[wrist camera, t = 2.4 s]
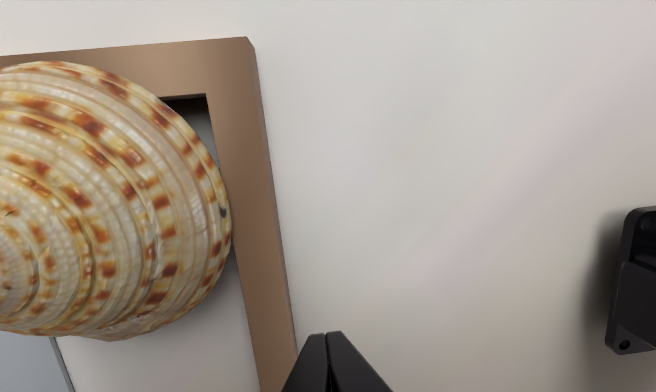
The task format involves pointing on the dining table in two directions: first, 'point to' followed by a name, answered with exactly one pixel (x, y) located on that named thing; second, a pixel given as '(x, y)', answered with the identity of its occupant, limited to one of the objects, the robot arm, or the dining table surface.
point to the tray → (31, 364)
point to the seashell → (102, 206)
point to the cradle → (222, 168)
